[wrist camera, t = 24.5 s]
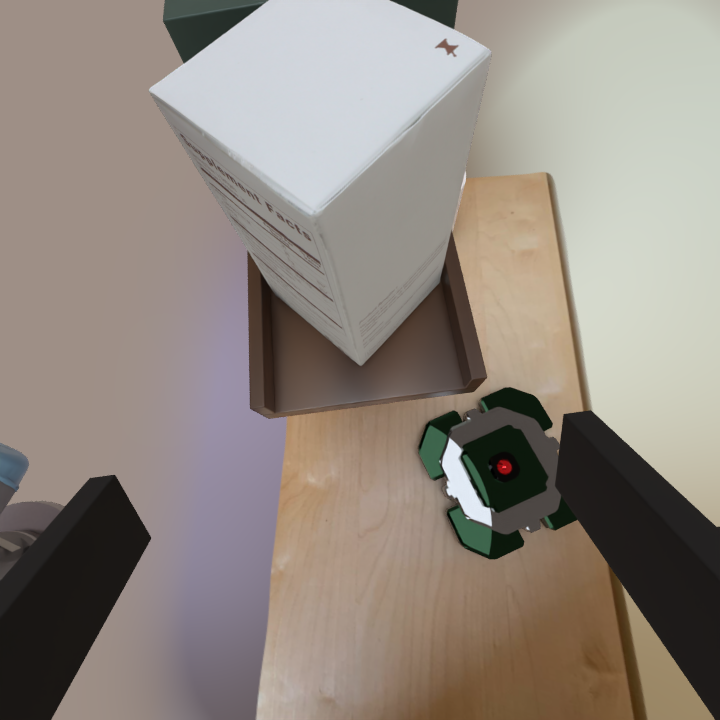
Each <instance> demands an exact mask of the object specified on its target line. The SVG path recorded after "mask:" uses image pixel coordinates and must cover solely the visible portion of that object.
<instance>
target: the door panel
mask: <svg viewBox="0 0 720 720" xmlns="http://www.w3.org/2000/svg"><path fill="white" fill-rule="evenodd" d="M267 1H269V0H165V4H164V15H163V22H164V24H165V25H166V28H167V30H168V32H169V34H170V36H171V38H172V40H173V42H174V44H175V46H176V48H177V50H178V52H179V54H180V56H181V59H182V61H183V63H186V62H187V61H189V60H190V59H191V58H193V57H194V56H195V55H197V54H198V53H199V52H201V51H202V50H203V49H205V48H206V47H207V46H209V45H210V44H211V43H213V42H214V41H215V40H217V39H218V38H219V37H221V36H222V35H223V34H225V33H226V32H227V31H229V30H230V29H231V28H233V27H234V26H235V25H237V24H238V23H239V22H241V21H242V20H243V19H245V18H246V17H247V16H249V15H250V14H251V13H253V12H254V11H255V10H257V9H258V8H259V7H261V6H262V5H263V4H265V3H266V2H267ZM390 1H392V2H394V3H397V4H399V5H402V6H404V7H406V8H408V9H410V10H413V11H415V12H417V13H419V14H421V15H424V16H426V17H428V18H430V19H433V20H435V21H437V22H439V23H441V24H443V25H446V26H448V27H450V28H452V29H454V26H455V18H456V12H457V5H458V0H390Z"/></svg>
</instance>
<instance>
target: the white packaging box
mask: <svg viewBox="0 0 720 720" xmlns="http://www.w3.org/2000/svg"><path fill="white" fill-rule="evenodd" d="M491 56H492V52H491V50H490V49H488V48H486V47H485V46H483V45H482V44H480V43H478V42H476V41H474V40H473V39H471V38H469V37H467V36H466V35H464V34H462V33H460V32H458V31H456V30H454V29H452V28H450V27H448V26H446V25H443V24H441V23H439V22H437V21H435V20H433V19H430V18H428V17H426V16H424V15H421V14H419V13H417V12H415V11H413V10H410V9H408V8H406V7H404V6H402V5H399V4H397V3H394V2H392V1H390V0H269V1H267V2H266V3H265V4H263V5H262V6H261V7H259V8H258V9H257V10H255V11H254V12H253V13H251V14H250V15H249V16H247V17H246V18H245V19H243V20H242V21H241V22H239V23H238V24H237V25H235V26H234V27H233V28H231V29H230V30H229V31H227V32H226V33H225V34H223V35H222V36H221V37H219V38H218V39H217V40H215V41H214V42H213V43H211V44H210V45H209V46H207V47H206V48H205V49H203V50H202V51H201V52H199V53H198V54H197V55H195V56H194V57H193V58H191V59H190V60H189V61H187V62H186V63H184V64H183V65H182V66H180V67H179V68H177V69H176V70H175V71H173V72H172V73H170V74H169V75H168V76H166V77H165V78H164V79H162V80H161V81H159V82H158V83H157V84H155V85H154V86H152V87H151V88H150V89H149V92H150V94H151V96H152V97H153V99H154V101H155V102H156V104H157V106H158V107H159V109H160V111H161V112H162V114H163V115H164V117H165V119H166V120H167V122H168V123H169V125H170V126H171V128H172V129H173V131H174V133H175V134H176V136H177V137H178V139H179V141H180V142H181V144H182V146H183V147H184V149H185V150H186V152H187V153H188V155H189V157H190V158H191V160H192V162H193V163H194V165H195V167H196V168H197V170H198V171H199V173H200V175H201V176H202V178H203V179H204V181H205V182H206V184H207V186H208V187H209V189H210V190H211V192H212V194H213V195H214V197H215V198H216V200H217V201H218V203H219V205H220V206H221V208H222V209H223V211H224V212H225V214H226V215H227V217H228V219H229V221H230V222H231V224H232V226H233V227H234V229H235V230H236V232H237V233H238V235H239V237H240V238H241V240H242V242H243V243H244V245H245V247H246V248H247V250H248V252H249V253H250V255H251V257H252V258H253V260H254V261H255V263H256V265H257V266H258V268H259V270H260V271H261V273H262V275H263V276H264V278H265V280H266V281H267V283H268V285H269V286H270V288H271V289H272V291H273V292H274V294H275V295H276V296H277V297H279V298H280V299H281V300H282V301H283V302H285V303H286V304H287V305H288V306H289V307H291V308H292V309H293V310H294V311H295V312H297V313H298V314H299V315H300V316H301V317H303V318H304V319H305V320H306V321H307V322H308V323H310V324H311V325H312V326H313V327H314V328H316V329H317V330H318V331H319V332H320V333H321V334H323V335H324V336H325V337H326V338H327V339H328V340H330V341H331V342H332V343H333V344H334V345H336V346H337V347H338V348H339V349H340V350H341V351H343V352H344V353H345V354H346V355H347V356H349V357H350V358H351V359H352V360H353V361H355V362H356V363H357V364H358V365H360V366H362V365H363V364H364V363H365V362H366V361H367V360H368V359H369V358H370V357H371V356H372V355H373V354H374V353H375V352H376V351H377V349H378V348H379V347H380V346H381V345H382V344H383V343H384V342H385V341H386V340H387V339H388V338H389V337H390V336H391V334H392V333H393V332H394V331H395V330H396V329H397V328H398V327H399V326H400V325H401V324H402V323H403V322H404V320H405V319H406V318H407V317H408V316H409V315H410V314H411V313H412V312H413V311H414V310H415V309H416V308H417V306H418V305H419V304H420V303H421V302H422V301H423V300H424V299H425V298H426V297H427V296H428V295H429V293H430V292H431V291H432V290H433V289H434V288H435V287H436V286H437V285H438V284H439V283H440V277H441V273H442V269H443V265H444V261H445V256H446V252H447V247H448V243H449V239H450V234H451V230H452V225H453V221H454V217H455V213H456V208H457V204H458V200H459V195H460V191H461V186H462V182H463V178H464V174H465V169H466V165H467V160H468V156H469V151H470V147H471V143H472V138H473V134H474V130H475V126H476V122H477V117H478V113H479V109H480V104H481V100H482V96H483V91H484V87H485V83H486V78H487V74H488V69H489V65H490V60H491Z"/></svg>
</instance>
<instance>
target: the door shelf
mask: <svg viewBox="0 0 720 720" xmlns="http://www.w3.org/2000/svg"><path fill="white" fill-rule="evenodd" d="M247 251H248V250H247ZM248 311H249V312H248V316H249V373H250V374H249V375H250V376H249V377H250V409H252V410H253V411H255V412H257V413H259V414H261V415H263V416H265V417H266V418H268V419H271V418H279V417H286V416H294V415H302V414H309V413H317V412H324V411H332V410H340V409H347V408H355V407H363V406H370V405H378V404H386V403H393V402H401V401H408V400H416V399H424V398H431V397H439V396H447V395H454V394H462V393H470V392H474V391H475V390H476V389H477V388H478V387H479V386H480V385H481V384H482V383H483V382H484V380H485V379H486V378H487V374H486V370H485V366H484V362H483V357H482V353H481V349H480V345H479V341H478V337H477V333H476V329H475V324H474V320H473V316H472V312H471V308H470V304H469V300H468V295H467V291H466V287H465V283H464V279H463V275H462V271H461V266H460V262H459V258H458V254H457V250H456V246H455V242H454V237H453V233H452V230H451V234H450V239H449V243H448V247H447V252H446V256H445V261H444V265H443V269H442V273H441V277H440V283H439V284H438V285H437V286H436V287H435V288H434V289H433V290H432V291H431V292H430V293H429V295H428V296H427V297H426V298H425V299H424V300H423V301H422V302H421V303H420V304H419V305H418V306H417V308H416V309H415V310H414V311H413V312H412V313H411V314H410V315H409V316H408V317H407V318H406V319H405V320H404V322H403V323H402V324H401V325H400V326H399V327H398V328H397V329H396V330H395V331H394V332H393V333H392V334H391V336H390V337H389V338H388V339H387V340H386V341H385V342H384V343H383V344H382V345H381V346H380V347H379V348H378V349H377V351H376V352H375V353H374V354H373V355H372V356H371V357H370V358H369V359H368V360H367V361H366V362H365V363H364V364H363V365H362V366H360V365H358V364H357V363H356V362H355V361H353V360H352V359H351V358H350V357H349V356H347V355H346V354H345V353H344V352H343V351H341V350H340V349H339V348H338V347H337V346H336V345H334V344H333V343H332V342H331V341H330V340H328V339H327V338H326V337H325V336H324V335H323V334H321V333H320V332H319V331H318V330H317V329H316V328H314V327H313V326H312V325H311V324H310V323H308V322H307V321H306V320H305V319H304V318H303V317H301V316H300V315H299V314H298V313H297V312H295V311H294V310H293V309H292V308H291V307H289V306H288V305H287V304H286V303H285V302H283V301H282V300H281V299H280V298H279V297H277V296H276V295H275V294H274V292H273V291H272V289H271V288H270V286H269V285H268V283H267V281H266V280H265V278H264V276H263V275H262V273H261V271H260V270H259V268H258V266H257V265H256V263H255V261H254V260H253V258H252V257H251V255H250V253H249V252H248Z"/></svg>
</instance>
